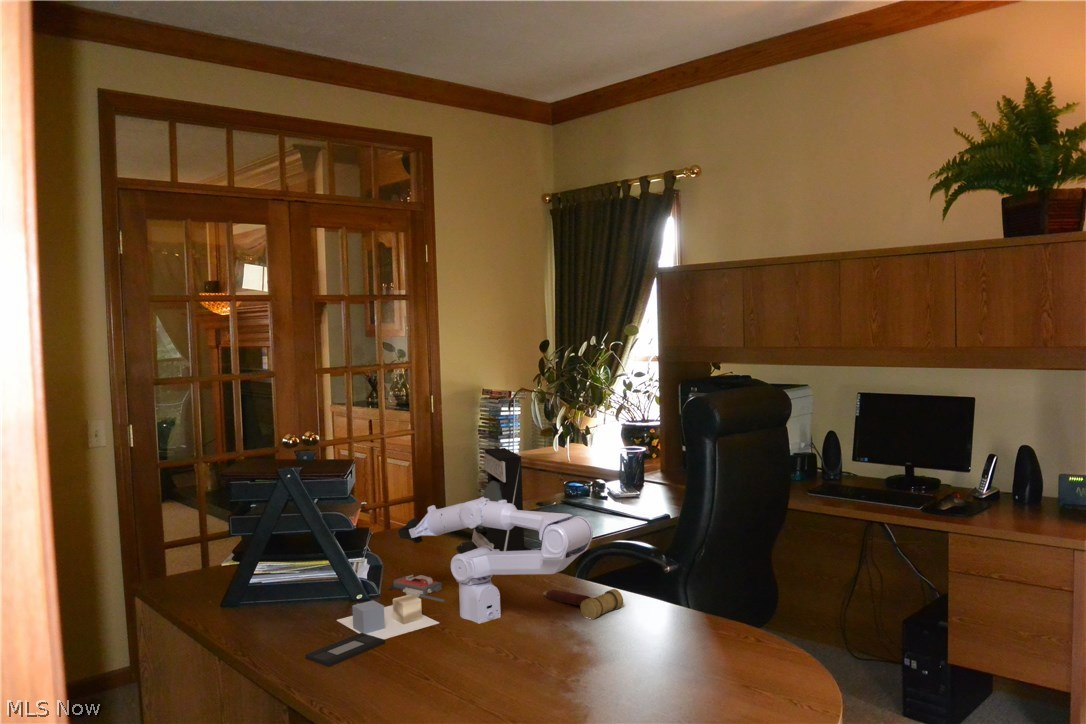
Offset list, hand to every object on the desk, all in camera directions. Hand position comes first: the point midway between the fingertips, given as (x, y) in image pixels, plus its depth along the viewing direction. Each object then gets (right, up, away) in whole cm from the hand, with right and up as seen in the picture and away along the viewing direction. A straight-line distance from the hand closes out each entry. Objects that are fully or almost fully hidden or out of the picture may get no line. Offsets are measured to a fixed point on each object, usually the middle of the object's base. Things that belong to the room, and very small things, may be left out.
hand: (411, 528), depth 200 cm
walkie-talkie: (+2, -18, +6) cm, 20 cm away
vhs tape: (-8, -20, -31) cm, 38 cm away
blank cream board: (-3, -19, -15) cm, 24 cm away
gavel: (+39, -18, -5) cm, 43 cm away
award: (+19, -16, +38) cm, 45 cm away
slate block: (-6, -18, -18) cm, 27 cm away
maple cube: (+1, -18, -14) cm, 22 cm away
